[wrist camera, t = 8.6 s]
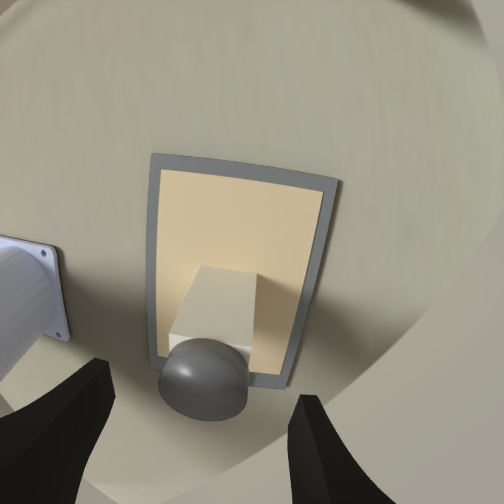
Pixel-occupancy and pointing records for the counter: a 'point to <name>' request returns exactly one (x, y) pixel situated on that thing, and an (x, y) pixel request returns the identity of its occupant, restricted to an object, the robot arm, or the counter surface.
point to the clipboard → (236, 248)
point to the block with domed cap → (211, 346)
